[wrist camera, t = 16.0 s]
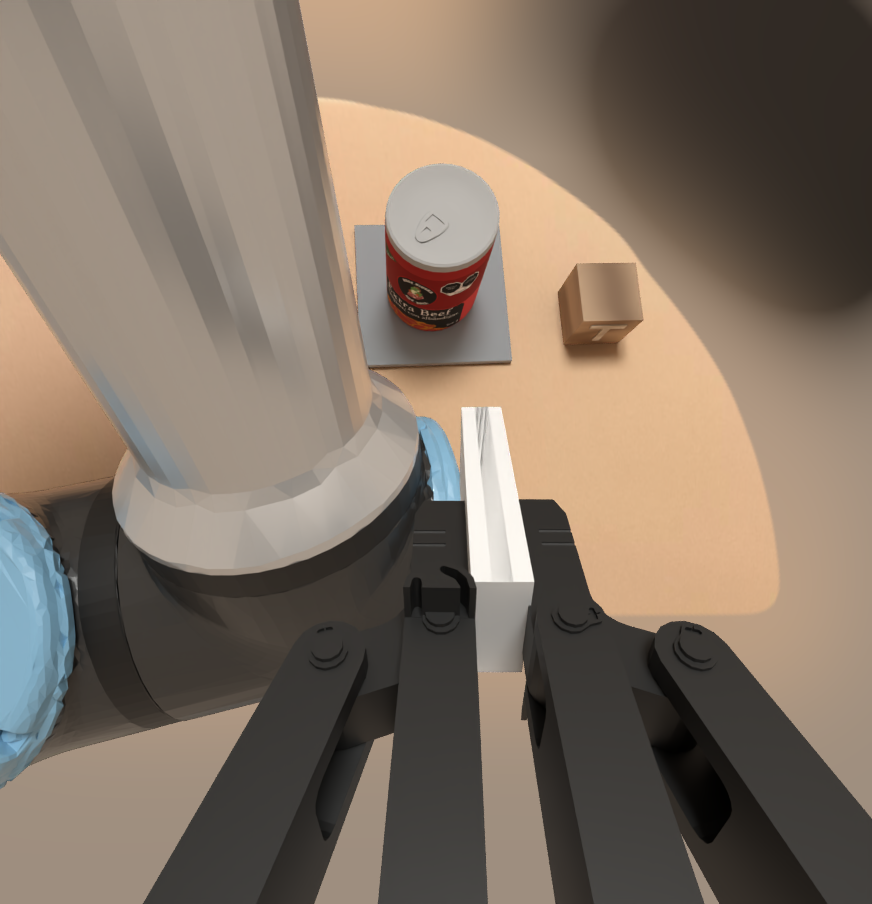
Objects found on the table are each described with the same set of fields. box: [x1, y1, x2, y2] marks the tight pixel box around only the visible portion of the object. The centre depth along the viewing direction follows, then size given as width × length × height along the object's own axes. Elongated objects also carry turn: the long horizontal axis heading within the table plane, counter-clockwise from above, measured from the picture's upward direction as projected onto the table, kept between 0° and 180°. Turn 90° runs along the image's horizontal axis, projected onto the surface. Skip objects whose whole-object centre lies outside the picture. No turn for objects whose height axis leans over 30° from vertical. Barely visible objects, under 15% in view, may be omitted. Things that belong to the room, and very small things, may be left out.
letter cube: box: [558, 263, 643, 345], centre depth 45 cm, size 5×5×5 cm
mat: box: [355, 225, 512, 368], centre depth 46 cm, size 13×13×1 cm
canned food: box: [385, 164, 499, 331], centre depth 40 cm, size 8×8×11 cm
